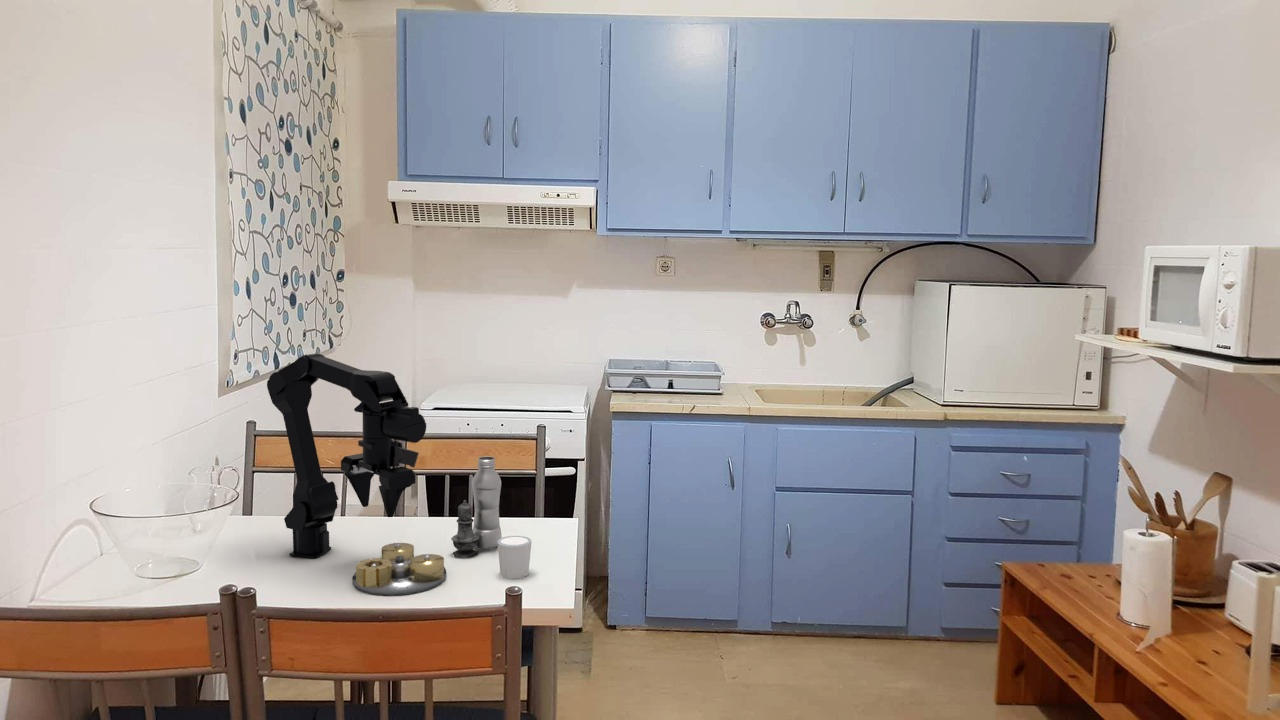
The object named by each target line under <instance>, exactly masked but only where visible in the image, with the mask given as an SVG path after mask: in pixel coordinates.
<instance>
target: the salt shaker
mask: <svg viewBox="0 0 1280 720" xmlns="http://www.w3.org/2000/svg"><path fill="white" fill-rule="evenodd" d="M457 509H458V511H457V518H458V519H456V523H457V533H456V534H455V535H453V536H452V537H451V538H450V539H451V541H452V545H453V547H454V548H455V549H456V550H455V551H454V552H453V553H452V555H454V556H453V557H455V558H457V557H458V559H468V558H474V557H476V556H478V554H479V552H478V551H477V550H476V549H475V548H476V545H477V543H478V539H479V536H478V535H475V534H473V523H474V518H473V516H472V515H473V511H472V510H473V507H472V505H471V504H470V503H467V500H466V499H464V500H463V503H460V504H459V505H458V507H457Z"/></svg>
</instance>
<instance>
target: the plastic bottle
mask: <svg viewBox="0 0 1280 720" xmlns="http://www.w3.org/2000/svg"><path fill="white" fill-rule="evenodd" d="M495 467H496V458H495V456H494V457H493V456H489V455H488V456H487V455H486V456H480V457H478V458H477V468H478V470H477V471H476V473H475V474H474V476H473V478H472V480H471V487H472V488H471V489H472V495H473V504H474V505H473V506H474V513H473V514H474V517H473V520H474V521H473V526H472V530H473V534H475V535H478V536H479V539H478V543H477V545H476V547H475V548H476V549H478V550H479V549H480V550H491V549H492V550H493V549H496V548H498V543H497V541H498V540H499V539H500V538H503V537H502V529H501V525H500V524H501V523H500V507H499V506H500V496H501V489H502V480H501V477H500V476H499V473H498V472H497V471H496V470H495Z"/></svg>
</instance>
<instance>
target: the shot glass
mask: <svg viewBox="0 0 1280 720" xmlns="http://www.w3.org/2000/svg"><path fill="white" fill-rule="evenodd" d="M497 543H498V547H497V549H498V550H497V552H498V563H499V571H500V572H499V573H500V576H501V577H502V578H503V579H504V578H505V579H509V580H516V579H523V578H525V576H526V577H527V576H528V575H529V573H530V572H529V571H530V563H531V562H530V561H531V559H530V558H531V553H532V552H531V550H532V539H531V538H530V537H527V536H524V535H509V536H504V537H501V538H500V539H499V540H498V541H497Z"/></svg>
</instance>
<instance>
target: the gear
mask: <svg viewBox="0 0 1280 720" xmlns="http://www.w3.org/2000/svg"><path fill="white" fill-rule="evenodd" d="M357 562H358V561H357ZM372 564H376V565H377V567H371V565H372ZM355 572H356V584H357V585H359V586H361V587H365V586H366V588H373V587H377V586H379V587H381V586H384V585H388V584H389V583H391V581H392V562H391V561H390V560H387V559H383V558H382V557H379V558H373V557H372V558H368V559H364V560H361V561H359V562H358V563H357V564H356V565H355Z"/></svg>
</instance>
